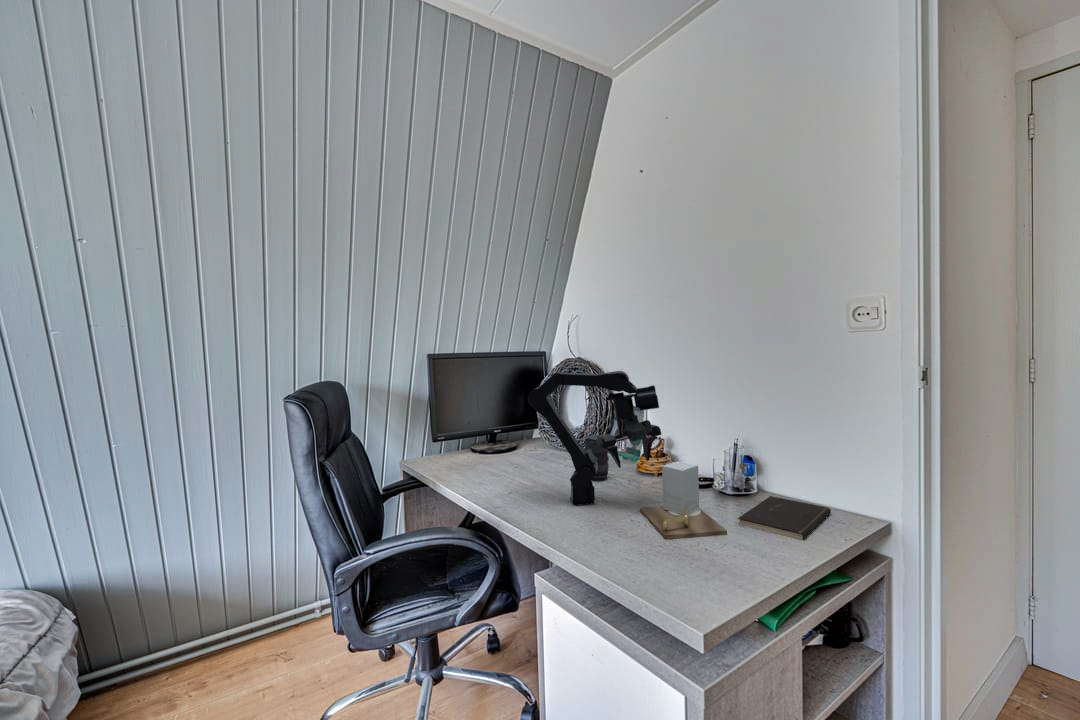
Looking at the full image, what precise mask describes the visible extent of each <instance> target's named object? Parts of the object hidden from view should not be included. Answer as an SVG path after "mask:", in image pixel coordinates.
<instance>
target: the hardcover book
mask: <svg viewBox="0 0 1080 720" xmlns="http://www.w3.org/2000/svg"><path fill="white" fill-rule="evenodd" d="M830 513H831V514H832V510H831V508H829V506H823V505H817V504H813V503H812V504H811V503H807V502H802V501H797V500H793V499H787V498H782V497H777V496H772V495H770V496H768V497H767V498H765V499H764V500H763V501H761V502H760V503H758V504H756V505H754V507H752V508H751V509H749V510H748V511H746V512H745V513H743V514H742V515H740V516H739V517H737V520H739V525H740V526H745V527H749V528H752V529H756V530H761V531H763V532H770V533H773V534H776V535H781V536H785V537H789V538H793V539H796V538H797V540H800V539H802V540H804V539H805V538H806V537H807V536H808V535H809V534H810V533H811V532H812V531H813V530H814V529H815V528H816V527H817V526H818V525H819V524H820V523H821V522H822V521H823V520H824V519H825V518H826V517H827V516H828V515H829V514H830ZM831 514H830V515H831ZM830 515H829V516H830ZM829 516H828V517H829ZM828 517H827V518H828ZM827 518H826V519H827ZM826 519H825V520H826ZM825 520H824V521H825ZM824 521H823V522H824ZM823 522H822V523H823ZM822 523H821V524H822ZM821 524H820V525H821ZM820 525H819V526H820ZM819 526H818V527H819ZM818 527H817V528H818ZM817 528H816V529H817ZM816 529H815V530H816ZM815 530H814V531H815ZM814 531H813V532H814ZM813 532H812V533H813ZM812 533H811V534H812ZM811 534H810V535H811ZM810 535H809V536H810ZM809 536H808V537H809ZM808 537H807V538H808ZM807 538H806V539H807ZM806 539H805V540H806ZM802 540H801V541H802ZM805 540H804V541H805Z"/></svg>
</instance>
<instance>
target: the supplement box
mask: <svg viewBox="0 0 1080 720" xmlns="http://www.w3.org/2000/svg"><path fill="white" fill-rule="evenodd" d="M661 471H662V473H661V475H662V476H661V478H662V482H661V483H662V506H663V509H665V510H668V511H672V512H675V513H678V514H681V515H683V508H687V513H688V514H689V513H692V512H694V511H697V510H699V508H700V488H699V487H700V485H699V484H700V483H699V481H700V480H699V479H700V477H699V465H696V464H692V463H687V462H684V461H683V462H682V461H678V460H677V461H673V462H670V463H667V464H663V465H661Z"/></svg>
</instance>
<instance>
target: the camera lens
mask: <svg viewBox="0 0 1080 720" xmlns="http://www.w3.org/2000/svg"><path fill="white" fill-rule="evenodd" d="M598 436H602V434H596V435H595V434H594V435H587V436H586V437H584V438H585V439H584V449H585V450H586V451H587V450H588V449H591V451H592V453H593V455H594V456H595V457H596V458H597V463H598V469H597V472H596V474H595V476H594V477H593V478H592V479H590V480H591V481H592V482H603V481H606V480H607V479H608V474H609V455H608V453H609V451H608V450H607V449H605V448H603V447H600V446H598V444H597V438H598Z"/></svg>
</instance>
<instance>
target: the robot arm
mask: <svg viewBox="0 0 1080 720" xmlns="http://www.w3.org/2000/svg"><path fill="white" fill-rule="evenodd" d="M560 386H573V387H574V386H575V387H576V386H579V387H596V388H602V389H605V390H608V391H609V394H608V395H607V396H606V398H605V400H606V401H607V402H608V401H612V403H613V409H614V414H615V416H614V421H616V426H617V430H616V435H614V434H610V433H608V434H607V433H605V434H603V435H602V434H601V435H602V436H598V438H597V444H598V446H600V447H603V448H605V449H607V450H608V453H609V454H610V455H611V457H612V459H613V461H614V463H615V464H616V466H617V467H618V468H619V469H620V468H622V466H621V459H620V455H619V452H618V450H619V449H618V448H619V446H618V445H617V443H618V442H621V441H626V440H630V441H631V442H637V441H639V440H641V444H642V449H643V453H644V457H645V461H647V462H648V461H650V455H651V451H652V447H653V444H654V442H655V441H656V440H657V439H658V438H659V437H658V436H662V431H661V427H660V426H659V425H656V424H652V423H651V421H650V420H649V419H646V420H642V421H641V422H640V421H639V419H638V415H636V414H635V409H634V408H637V409H639V411H640V412H641V411H647V410H655V409H659V408H660V404H659V399H658V394H657V391H656V386H655V385H654V384H653V385H649V386H645V387H639V388H637V387H636V385H635V384H633V382H631V381H630V377H629V375H628V373H627V372H625V371H623V370H614V371H608V372H603V373H602V372H601V373H586V372H585V373H582V372H562V371H556V372H554V373H552V375H551V376H550V377H549V378H548V379H547V380H546V381H545V382H544V383H543V384H541V385H540V386H538V387H535V388H534V389H531V390H530V391H529V393H528V395H527V402H528V404H529V405H530V406H531V407H532V409H534V410H535V411H536V412H537V413H538V414H539V415H541V416H542V417H543V418H544V419H545V421H546V422H547V423H548V424H549V426H550V427H551V429H552V431H553V432H554V434H555V435H556V437H558V439H559V441H560V442H561V444H562V446H563V447H564V448H565V450H566V452H568V454H569V455H570V458H571V461H572V464H573V467H574V469H575V470H574V471H573V473H572V475H571V477H570V479H569V481H570V497H569V499H570V502H571V504H572V505H573V506H584V505H585V506H587V505H594V504H595V500H596V495H595V493H596V492H595V486H594V485H593V481H591V480H590V479H592V478H593V477H594V476H595V474H596V472H597V469H598V463H597V458H596V457H595V456H594V455H593V453H592V451H591V449H588V450H587V451H586V450H585V448H584V447H582V446H581V444H580V443H579V441H578V440H577V438H576V437H575V435H574V434H573V432H572V431H571V430H570V428H569V426H568V425H567V423H566V422H565V421H564V419H563V417H562V416H561V415H560V413H559V412H558V410H557V409H556V405H555V403H554V400H553V397H552V394H553V393H554V392H555V391H556V390H557V389H558V388H559V387H560ZM614 392H616V393H614ZM625 393H626V394H625ZM633 399H634V402H633ZM634 404H635V407H634Z"/></svg>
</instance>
